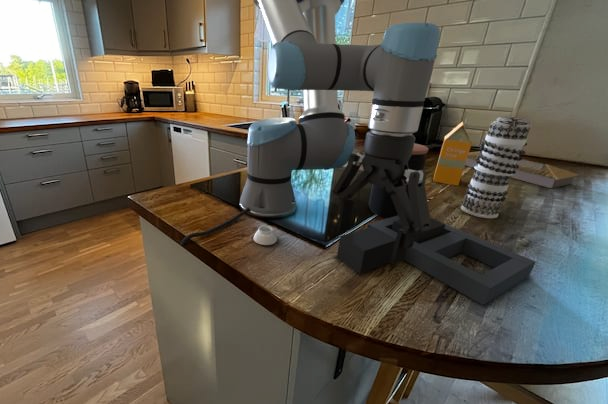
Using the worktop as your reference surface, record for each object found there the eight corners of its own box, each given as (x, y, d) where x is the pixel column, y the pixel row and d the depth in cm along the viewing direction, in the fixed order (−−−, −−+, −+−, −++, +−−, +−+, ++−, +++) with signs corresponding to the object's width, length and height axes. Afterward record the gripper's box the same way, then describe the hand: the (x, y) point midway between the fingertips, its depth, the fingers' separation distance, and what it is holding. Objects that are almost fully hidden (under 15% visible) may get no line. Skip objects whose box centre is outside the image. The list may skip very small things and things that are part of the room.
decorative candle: (459, 202, 87) (488, 114, 77) (498, 210, 83) (535, 117, 73) (458, 212, 81) (489, 117, 71) (501, 222, 76) (541, 121, 66)
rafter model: (451, 162, 129) (456, 148, 126) (473, 159, 134) (477, 146, 132) (553, 189, 99) (561, 171, 97) (575, 184, 105) (583, 167, 102)
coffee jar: (392, 223, 74) (409, 152, 66) (359, 207, 82) (371, 143, 75) (419, 215, 78) (438, 148, 71) (385, 201, 87) (399, 139, 80)
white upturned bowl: (278, 237, 66) (256, 233, 68) (279, 225, 65) (257, 221, 67) (273, 248, 62) (250, 244, 63) (274, 236, 61) (251, 232, 62)
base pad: (483, 305, 48) (490, 288, 46) (365, 237, 67) (367, 223, 66) (528, 277, 55) (536, 261, 53) (410, 223, 74) (413, 210, 73)
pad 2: (413, 254, 61) (419, 233, 59) (388, 241, 66) (393, 221, 64) (439, 244, 65) (445, 224, 63) (414, 232, 70) (419, 213, 68)
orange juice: (458, 178, 108) (476, 122, 100) (458, 185, 101) (478, 125, 93) (433, 174, 111) (449, 120, 103) (432, 181, 105) (448, 123, 97)
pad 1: (359, 274, 55) (364, 250, 53) (336, 257, 59) (340, 235, 57) (392, 261, 59) (397, 239, 57) (367, 246, 63) (372, 226, 61)
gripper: (323, 122, 57) (311, 221, 66) (454, 150, 38) (413, 286, 46) (351, 120, 61) (336, 215, 69) (485, 145, 41) (442, 273, 49)
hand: (367, 244), depth 58 cm, fingers open, 12 cm apart
